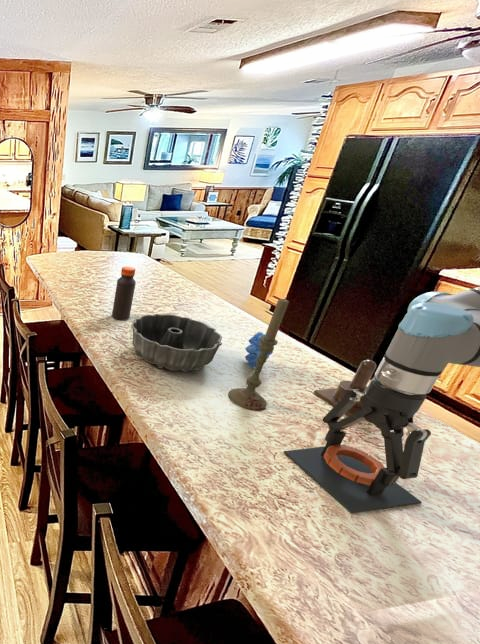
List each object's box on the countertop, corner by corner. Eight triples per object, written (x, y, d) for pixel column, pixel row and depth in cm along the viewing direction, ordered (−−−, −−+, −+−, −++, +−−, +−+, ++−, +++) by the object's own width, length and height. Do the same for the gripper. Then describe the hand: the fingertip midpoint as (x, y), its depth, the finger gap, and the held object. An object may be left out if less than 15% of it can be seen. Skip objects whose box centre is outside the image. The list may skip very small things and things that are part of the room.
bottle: (130, 321, 150) (139, 271, 141) (112, 319, 150) (120, 270, 142) (128, 314, 156) (136, 266, 147) (110, 312, 157) (118, 265, 148)
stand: (386, 414, 101) (412, 370, 95) (350, 418, 99) (374, 373, 93) (346, 390, 110) (367, 348, 104) (313, 392, 109) (332, 351, 103)
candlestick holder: (233, 407, 102) (270, 302, 89) (223, 387, 110) (256, 289, 97) (271, 413, 100) (315, 306, 87) (259, 393, 108) (298, 292, 95)
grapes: (274, 378, 115) (288, 343, 109) (249, 375, 116) (261, 340, 111) (260, 359, 125) (272, 326, 120) (237, 356, 126) (248, 323, 121)
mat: (420, 503, 76) (422, 501, 75) (351, 513, 73) (352, 511, 73) (343, 445, 90) (344, 444, 90) (283, 452, 87) (284, 450, 87)
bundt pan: (109, 348, 130) (114, 321, 126) (164, 333, 141) (170, 307, 137) (173, 389, 109) (181, 358, 105) (232, 367, 120) (242, 339, 116)
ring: (396, 482, 77) (400, 476, 76) (355, 487, 75) (359, 482, 75) (350, 448, 85) (353, 442, 84) (312, 452, 84) (315, 446, 83)
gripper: (327, 356, 81) (290, 438, 90) (455, 426, 61) (389, 522, 71) (358, 353, 82) (318, 435, 91) (493, 422, 62) (423, 517, 72)
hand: (349, 473), depth 81 cm, fingers closed on ring, 9 cm apart
